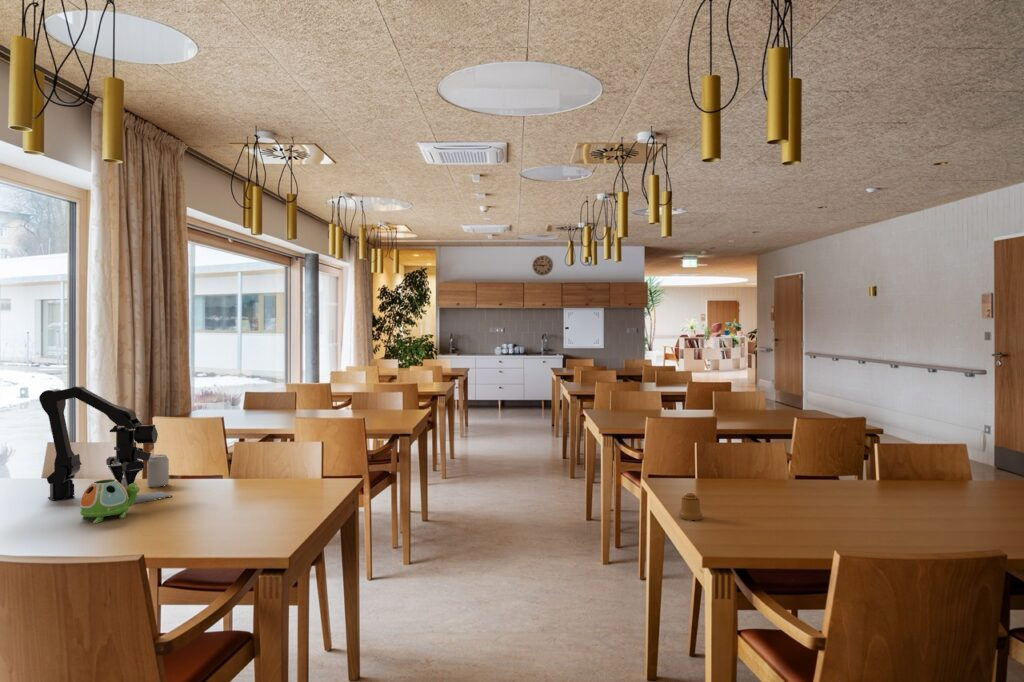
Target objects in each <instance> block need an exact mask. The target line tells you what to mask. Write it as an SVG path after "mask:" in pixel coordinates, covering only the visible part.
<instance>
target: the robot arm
mask: <svg viewBox="0 0 1024 682" xmlns="http://www.w3.org/2000/svg"><path fill="white" fill-rule="evenodd" d="M38 397H39V398H38V399H39V403H40V405H41V407H42V410H43V411H44V412H45V413H46V414H47V416H48V421H49V425H50V429H51V434H52V439H53V444H54V449H55V453H56V455H55V459H54V462H53V466H54V467H53V470H54V471H53V472H52V473H51V474H49V475H48V476H47V477H46V481H47V483H48V484H49V496H48V497H47V499H49V500H51V501H53V500H54V501H55V502H56V501H61V500H67V499H73V498H75V497H76V496H75V484H74V481H73V479H74V478H75V476H76V474H77V473H78V472H79V471H80V470H81V466H82V462H81V456H80V454H79V453H77V454H75V453H74V452H73V451H72V447H71V441H70V436H69V432H68V426H67V422H66V418H65V417H66V416H65V409H66V406H67V405H66V404H67V403H66V400H70V399H77V400H79V401H81V402H82V403H85V404H86V405H88V406H90V407H91V408H93V409H95V410H97V411H99V412H100V413H103V414H104V415H105V416H106V417H108V419H109V420H110V421H111V422H113V423H114V425H113V427H112V428H111V429H110V430H109V433H115V446H114V447H113V450H114V451H115V455H114V456H108V457H107V459H106V460H105V463H106V466H107V467H108V469H109V470H110V472H111V474H112V476H113V477H114V478H113V479H116V480H117V481H118V482H119V483H120V484H121V481H122V479H123V478H124V477H125V480H126V483H127V485H129V484H131V483H135V480H136V478H137V474H138V473H140V472H141V471H143V469H145V462H147V461H149V459H150V456H152V452H147V451H144V448H142V447H138V446H136V445H135V442H136V443H137V444H139V445H140V444H157V441H158V437H159V436H158V434H159V433H158V430H157V428H156V424H149V425H148V424H147V425H146V424H144V425H143V424H142V422H141V421H140V419H139V418H138V417H137V413H136V412H135V410H133V409H131V408H129V407H128V408H127V407H125V406H121V405H118V404H116V403H112V402H111V401H109V400H107V399H106V398H103V397H102V396H99V395H98V394H96V393H95V392H93V391H90V390H88V389H87V388H86V387H84V386H82V385H76V386H72V387H70V388H66V389H65V388H64V389H59V388H54V389H47V390H44V391H43V392H41V394H40V395H39V396H38ZM144 461H145V462H144Z"/></svg>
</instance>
